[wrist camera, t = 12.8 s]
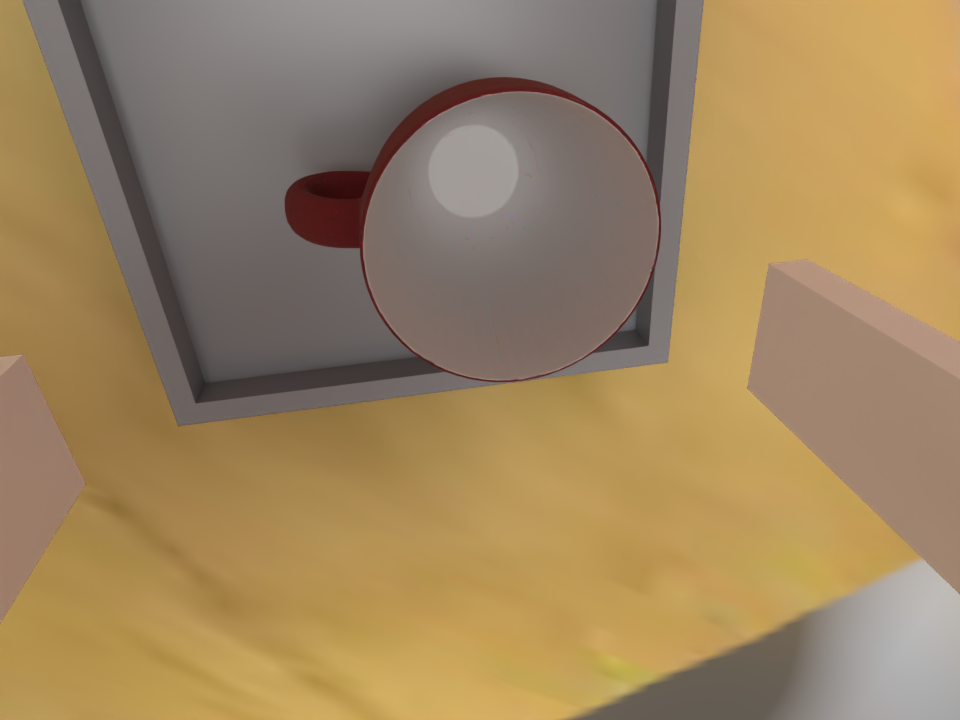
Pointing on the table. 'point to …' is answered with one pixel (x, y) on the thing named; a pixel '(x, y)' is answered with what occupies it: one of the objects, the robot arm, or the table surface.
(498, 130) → the mug
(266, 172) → the tray
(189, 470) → the table surface
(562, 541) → the table surface
